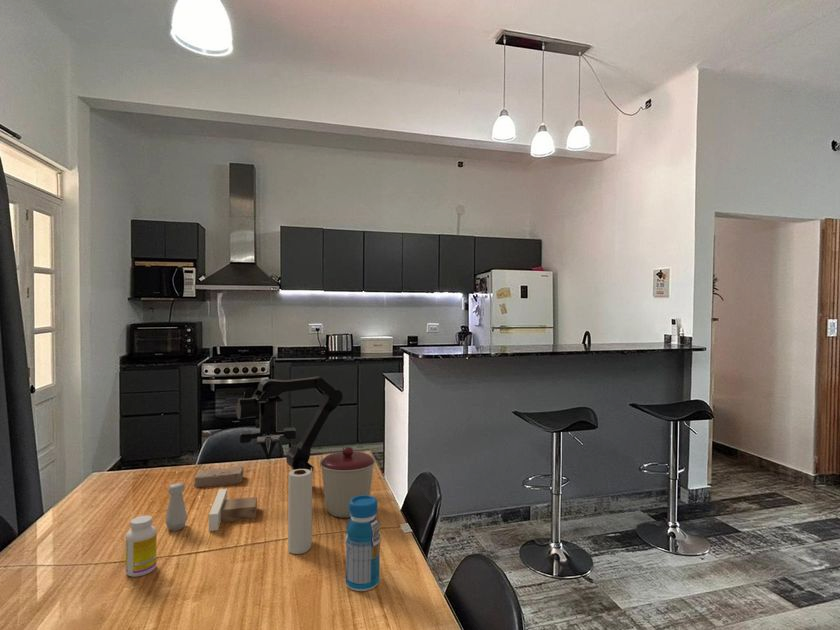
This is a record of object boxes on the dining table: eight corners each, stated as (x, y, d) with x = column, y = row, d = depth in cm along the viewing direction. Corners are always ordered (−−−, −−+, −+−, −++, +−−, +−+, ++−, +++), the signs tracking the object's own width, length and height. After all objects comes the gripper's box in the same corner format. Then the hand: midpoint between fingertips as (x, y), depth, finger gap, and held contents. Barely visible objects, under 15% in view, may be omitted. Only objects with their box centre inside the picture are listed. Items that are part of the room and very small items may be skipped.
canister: (316, 503, 158) (317, 441, 157) (368, 497, 163) (369, 437, 163) (322, 527, 140) (322, 457, 140) (380, 519, 146) (381, 452, 146)
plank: (227, 503, 157) (227, 488, 157) (217, 530, 138) (218, 513, 138) (219, 504, 156) (219, 489, 156) (208, 531, 137) (208, 514, 137)
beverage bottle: (350, 596, 106) (350, 509, 106) (341, 577, 114) (341, 496, 114) (384, 588, 110) (385, 504, 110) (373, 569, 118) (374, 491, 117)
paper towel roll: (290, 557, 123) (291, 476, 123) (285, 546, 129) (286, 469, 128) (317, 550, 127) (317, 472, 126) (311, 541, 132) (312, 466, 132)
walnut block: (256, 508, 154) (257, 496, 154) (255, 519, 146) (255, 506, 146) (224, 512, 151) (224, 499, 151) (220, 523, 143) (221, 510, 143)
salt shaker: (191, 525, 141) (191, 482, 140) (174, 533, 135) (174, 489, 135) (178, 521, 143) (178, 479, 143) (161, 529, 138) (161, 486, 138)
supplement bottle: (162, 566, 118) (162, 516, 118) (139, 580, 112) (139, 527, 112) (143, 561, 120) (143, 512, 120) (119, 574, 114) (119, 522, 114)
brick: (193, 488, 171) (193, 475, 171) (198, 480, 179) (198, 468, 179) (241, 485, 175) (241, 472, 175) (244, 477, 183) (244, 465, 183)
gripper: (294, 408, 174) (294, 450, 174) (241, 412, 168) (241, 454, 169) (296, 415, 164) (296, 459, 164) (239, 419, 158) (239, 464, 158)
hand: (268, 459), depth 164 cm, fingers closed
